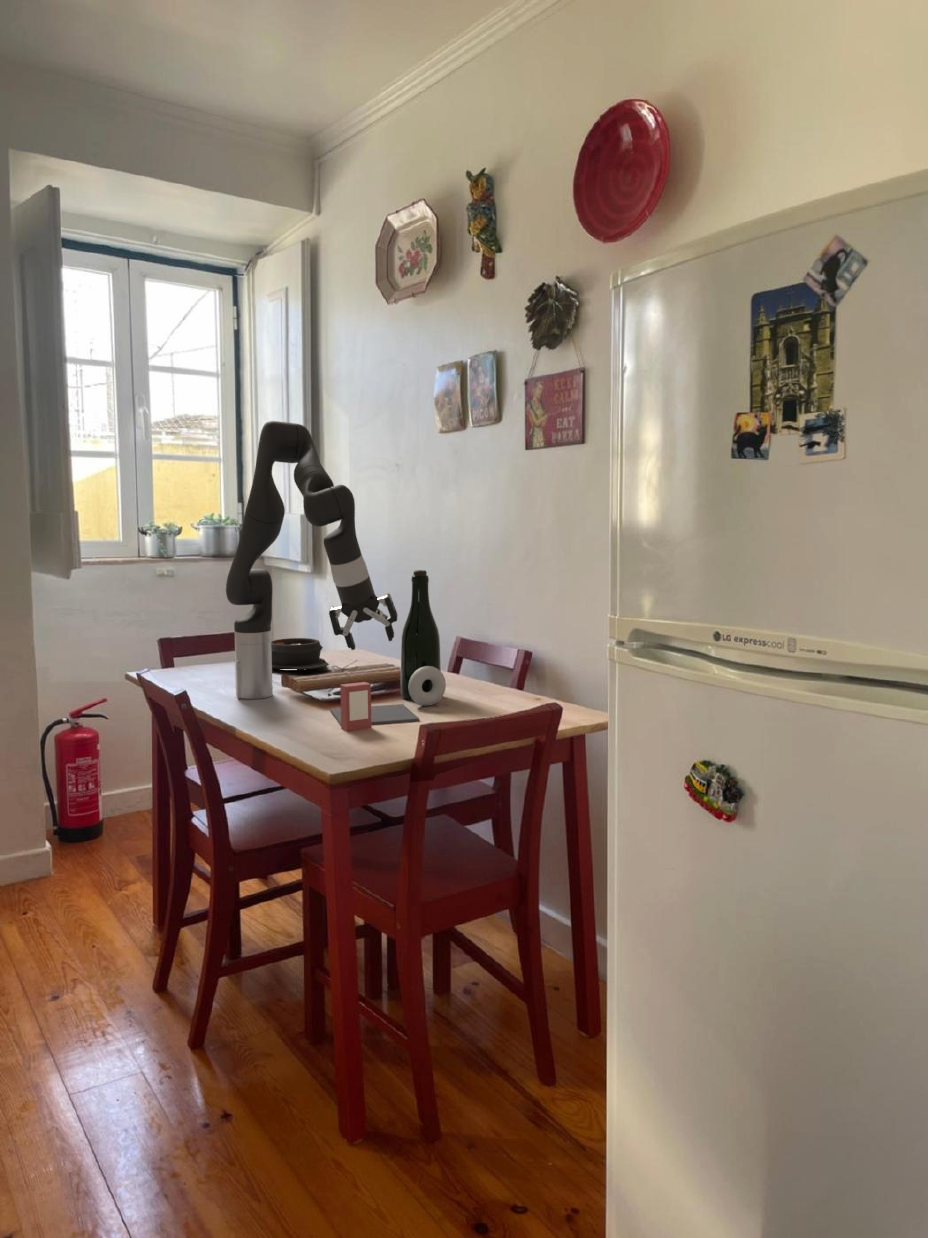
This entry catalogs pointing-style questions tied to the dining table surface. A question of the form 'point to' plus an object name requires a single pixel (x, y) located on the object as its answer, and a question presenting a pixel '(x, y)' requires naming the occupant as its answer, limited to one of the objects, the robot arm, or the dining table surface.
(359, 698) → the card box
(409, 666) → the dark green wine bottle
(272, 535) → the robot arm
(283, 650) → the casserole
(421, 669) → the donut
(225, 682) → the dining table surface
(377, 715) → the mat
